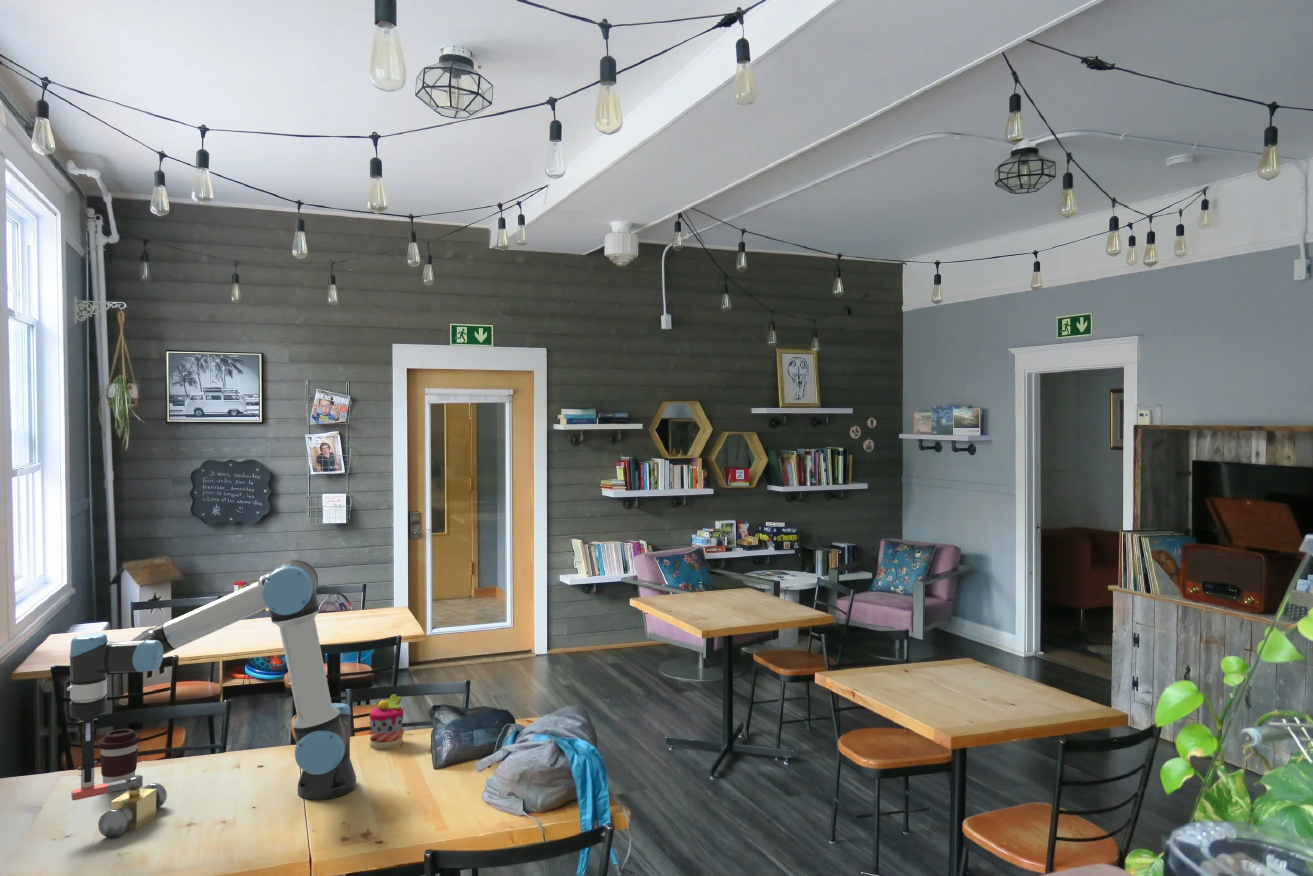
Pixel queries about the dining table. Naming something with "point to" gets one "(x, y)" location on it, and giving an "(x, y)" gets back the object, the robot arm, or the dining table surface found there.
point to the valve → (132, 810)
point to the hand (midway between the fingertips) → (87, 793)
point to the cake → (386, 724)
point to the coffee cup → (118, 755)
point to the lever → (107, 787)
